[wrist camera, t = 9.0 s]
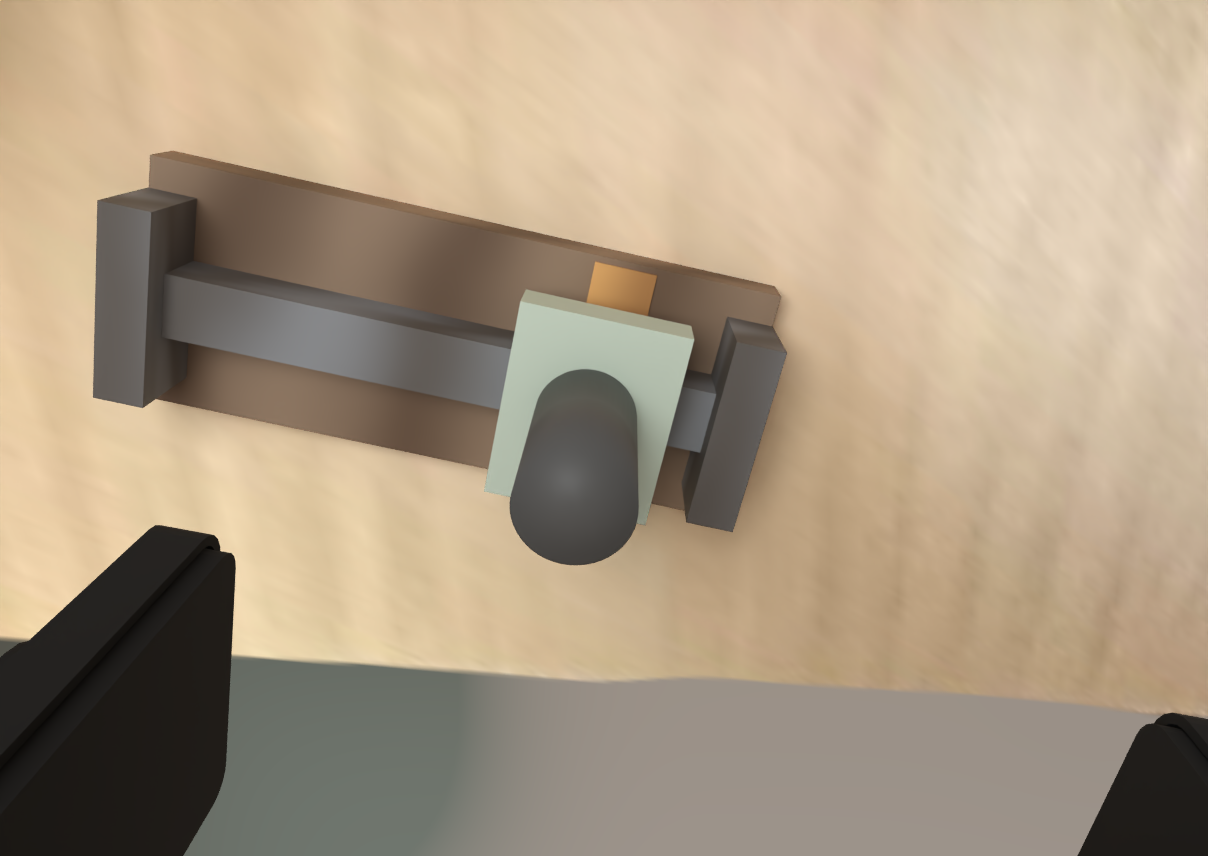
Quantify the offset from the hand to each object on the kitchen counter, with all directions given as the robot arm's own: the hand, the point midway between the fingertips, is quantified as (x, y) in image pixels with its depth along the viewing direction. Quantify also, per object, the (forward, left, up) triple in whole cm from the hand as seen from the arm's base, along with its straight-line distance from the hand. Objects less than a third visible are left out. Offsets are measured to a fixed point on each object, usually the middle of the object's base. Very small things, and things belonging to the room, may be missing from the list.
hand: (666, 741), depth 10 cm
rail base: (+6, +3, -23) cm, 24 cm away
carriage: (+1, +3, -21) cm, 22 cm away
